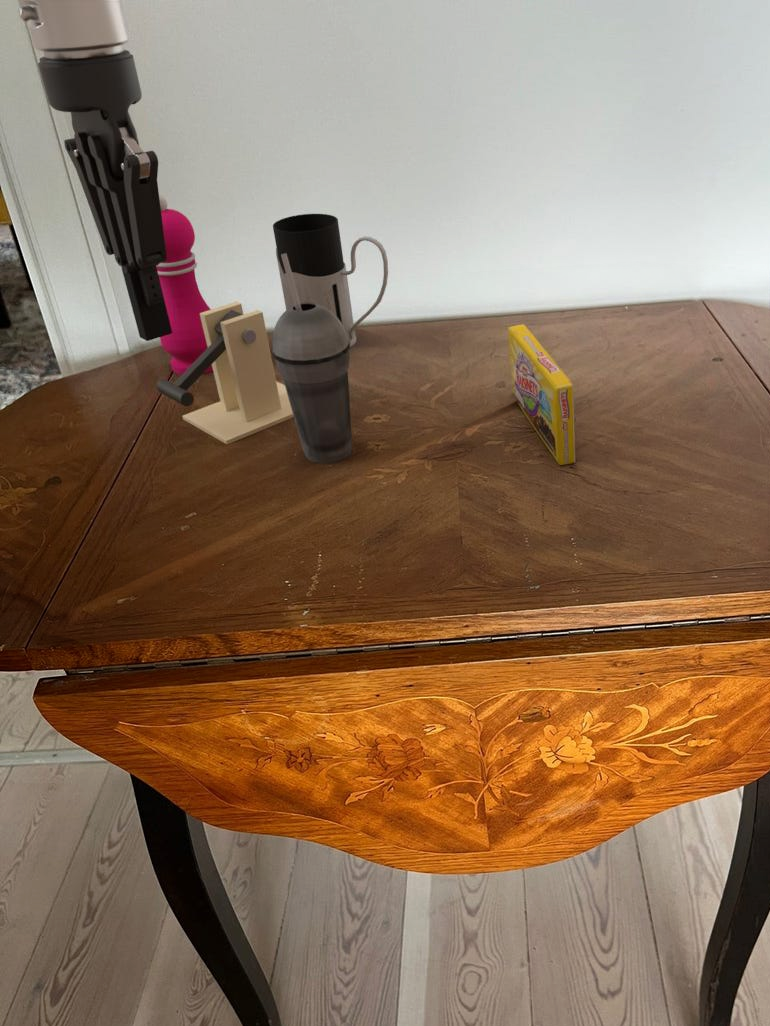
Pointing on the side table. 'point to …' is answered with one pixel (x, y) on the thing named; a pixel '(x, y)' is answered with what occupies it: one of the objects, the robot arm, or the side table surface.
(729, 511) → the side table surface
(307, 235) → the glass holder
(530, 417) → the candy box
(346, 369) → the beverage cup
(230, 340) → the lever mount
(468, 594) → the side table surface
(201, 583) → the side table surface
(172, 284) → the pepper mill
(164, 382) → the wooden stand lever
